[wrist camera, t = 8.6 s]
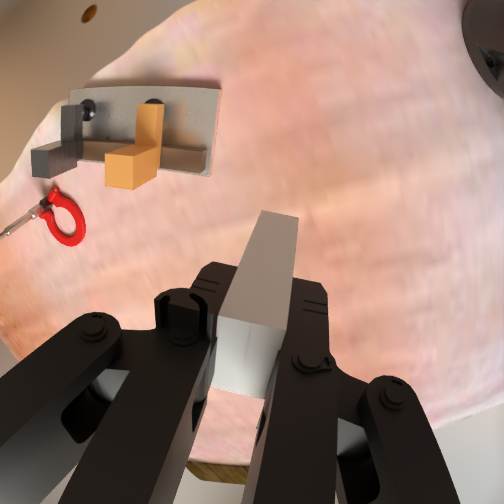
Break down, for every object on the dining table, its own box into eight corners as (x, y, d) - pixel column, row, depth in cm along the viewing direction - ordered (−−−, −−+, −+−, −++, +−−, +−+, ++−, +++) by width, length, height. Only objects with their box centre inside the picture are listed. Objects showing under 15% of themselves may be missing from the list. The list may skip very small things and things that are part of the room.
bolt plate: (75, 89, 32) (60, 90, 29) (222, 89, 30) (213, 88, 27) (73, 158, 37) (59, 163, 34) (211, 174, 35) (203, 181, 32)
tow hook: (95, 223, 42) (58, 180, 39) (42, 270, 31) (-1, 216, 28) (74, 252, 45) (40, 213, 42) (27, 298, 34) (-12, 251, 31)
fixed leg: (76, 103, 31) (30, 111, 24) (94, 102, 31) (48, 109, 23) (75, 159, 35) (32, 176, 27) (92, 160, 34) (49, 178, 27)
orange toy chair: (148, 102, 30) (106, 107, 23) (174, 103, 30) (136, 107, 23) (144, 166, 34) (105, 186, 26) (169, 169, 33) (132, 190, 26)
